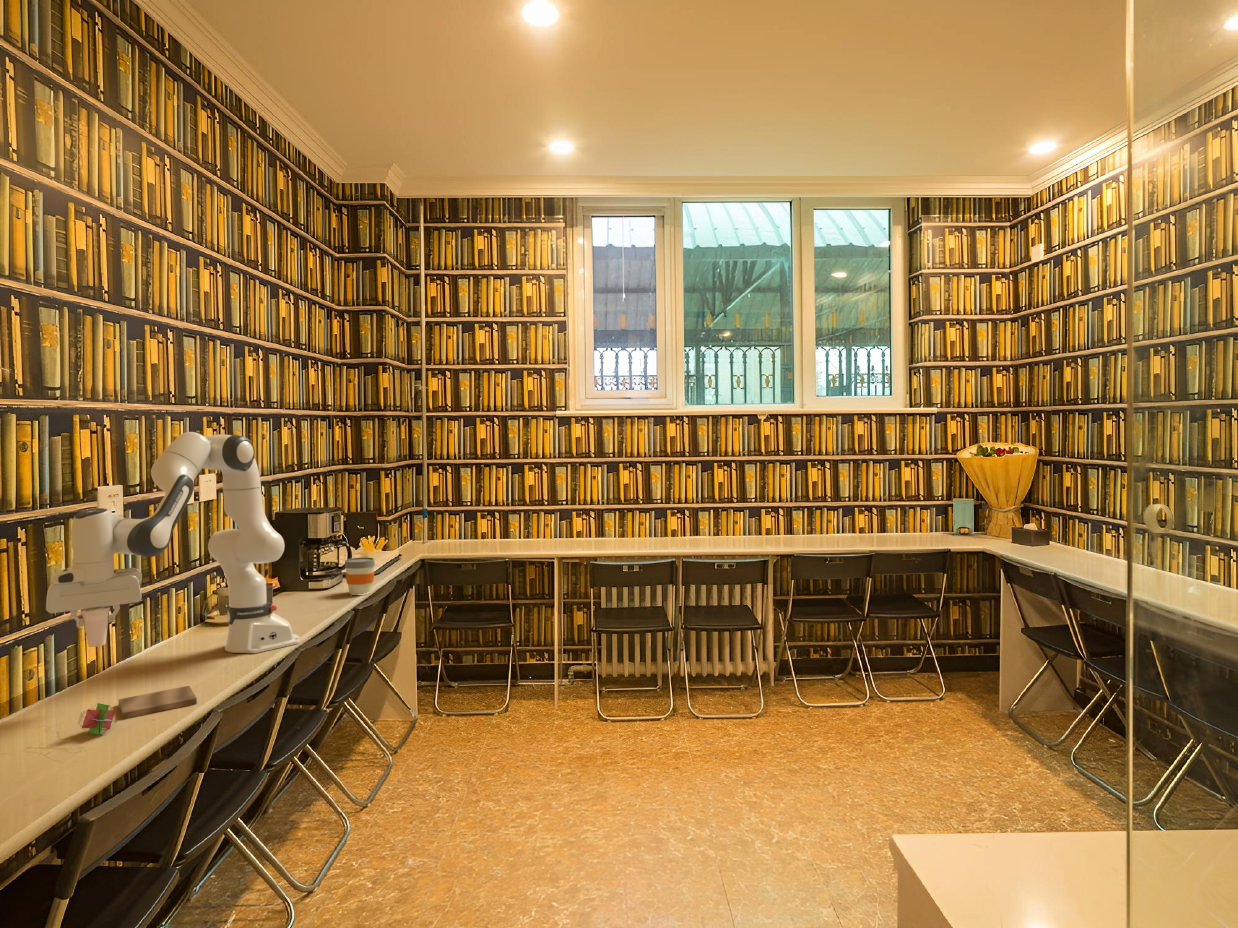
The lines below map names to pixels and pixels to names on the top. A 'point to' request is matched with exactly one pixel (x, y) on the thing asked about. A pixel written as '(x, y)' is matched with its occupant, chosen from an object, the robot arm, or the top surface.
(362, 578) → the reusable coffee cup
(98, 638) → the smoothie
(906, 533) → the top surface
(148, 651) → the top surface
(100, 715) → the geometric puzzle
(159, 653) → the top surface
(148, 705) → the serving board
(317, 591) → the top surface
